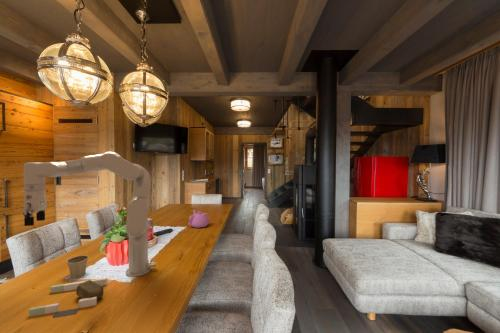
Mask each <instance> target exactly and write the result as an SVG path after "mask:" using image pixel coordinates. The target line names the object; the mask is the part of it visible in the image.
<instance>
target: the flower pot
mask: <svg viewBox="0 0 500 333" xmlns="http://www.w3.org/2000/svg"><path fill="white" fill-rule="evenodd" d="M89 258H90V257H89V255H87V254H86V255H77V256H74V257H73V256H72V257H71V258H67V260H66V262H65V263H66V264H67V266H68V270H69V275H70V278H72V277H75V278H77V277H79V276H80V277H82V276H84V275H85V274H86V270H87V262H88V259H89ZM83 274H84V275H83ZM81 275H82V276H81Z"/></svg>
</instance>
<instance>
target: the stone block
mask: <svg viewBox="0 0 500 333" xmlns="http://www.w3.org/2000/svg"><path fill="white" fill-rule="evenodd" d="M91 280H92V279H90V280H89V279H88V280H85V281H86V282H84V283H81V284H80V285H79V286H78V287H77V290H76V292H75V293H76V296H77V297H79V298H80V299H85V298H91V297H97V301H98V300H99V299H100V298H103V297H104V286H101V285H99V284H97V283H95V282H93V281H91Z"/></svg>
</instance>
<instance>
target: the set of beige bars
mask: <svg viewBox="0 0 500 333" xmlns="http://www.w3.org/2000/svg"><path fill="white" fill-rule="evenodd" d="M90 280H91V281H93V282H95V283H97V284H99V285H101V286H103V287H104V286H107V285H108V277H103V278H97V279H90ZM86 281H87V280H81V281H73V282H71V283H70V282H69V283H68V282H67V283H63V284H55V285H51V286H50V294H54V293H55V294H56V293H64V292H69V291H70V292H71V291H77V287H78V286H79V285H80V284H81V283H84V282H86ZM97 301H98V300H97V297H91V298H85V299H83V298H80V299H79V300H78V308H80V309H83V308H88V307H93V306H96V305H97V303H98V302H97ZM59 311H60V302H57V303H52V304H46V305H40V306H34V307H30V308H29V309H28V317H29V318H30V317H35V316H42V315H46V314H52V313H54V314H55V313H56V312H59Z"/></svg>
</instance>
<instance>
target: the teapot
mask: <svg viewBox="0 0 500 333" xmlns="http://www.w3.org/2000/svg"><path fill="white" fill-rule="evenodd" d="M188 220H189V222H188V226H191V227H193V228H197V229H200V228H205V227H207V226H208V224H209V223H210V222H211V220H210V214H209V212H208V213H207V212H202V210H201V211H196V210H195V209H193V215H189V219H188Z"/></svg>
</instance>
